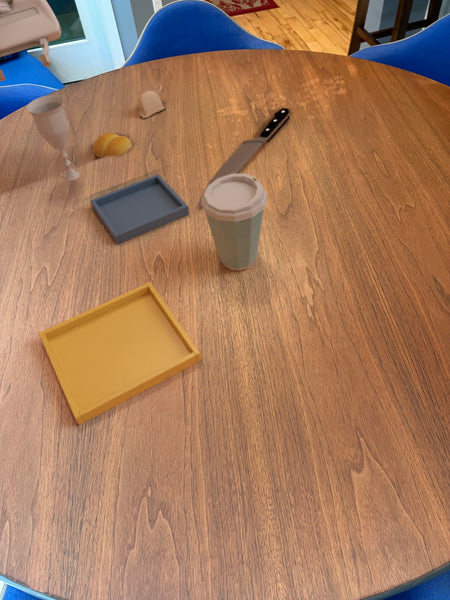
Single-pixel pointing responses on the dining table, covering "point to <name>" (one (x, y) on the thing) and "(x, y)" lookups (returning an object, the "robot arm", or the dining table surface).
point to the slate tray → (139, 208)
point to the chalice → (53, 127)
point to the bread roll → (111, 145)
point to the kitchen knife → (251, 146)
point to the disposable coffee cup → (235, 218)
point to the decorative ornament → (150, 102)
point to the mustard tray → (117, 351)
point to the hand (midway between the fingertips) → (24, 72)
